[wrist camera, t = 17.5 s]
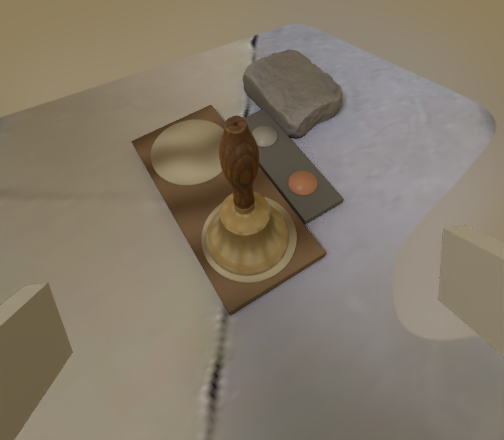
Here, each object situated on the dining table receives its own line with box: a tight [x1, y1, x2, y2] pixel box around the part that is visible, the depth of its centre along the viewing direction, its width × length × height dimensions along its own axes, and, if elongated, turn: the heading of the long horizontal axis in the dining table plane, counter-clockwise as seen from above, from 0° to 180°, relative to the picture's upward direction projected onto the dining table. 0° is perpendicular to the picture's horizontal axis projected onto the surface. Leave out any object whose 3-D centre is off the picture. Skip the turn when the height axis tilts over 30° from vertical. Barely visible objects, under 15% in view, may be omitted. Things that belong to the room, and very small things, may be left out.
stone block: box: [243, 50, 342, 138], centre depth 42 cm, size 12×5×10 cm
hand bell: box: [206, 116, 289, 276], centre depth 25 cm, size 8×8×16 cm
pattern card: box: [244, 109, 343, 224], centre depth 38 cm, size 16×5×1 cm, turn 31°
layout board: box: [131, 105, 326, 315], centre depth 36 cm, size 24×11×2 cm, turn 31°
